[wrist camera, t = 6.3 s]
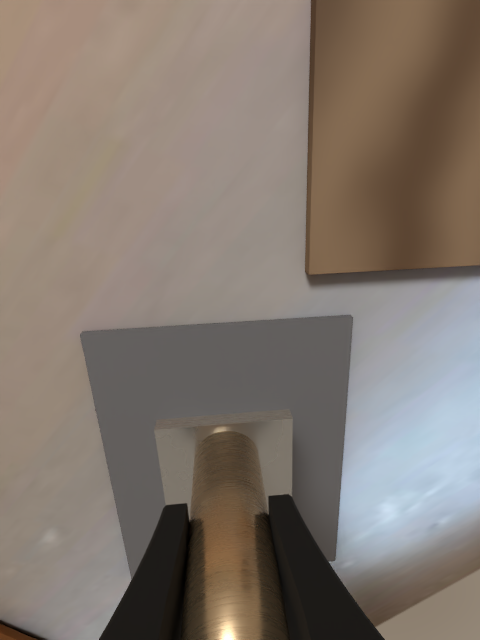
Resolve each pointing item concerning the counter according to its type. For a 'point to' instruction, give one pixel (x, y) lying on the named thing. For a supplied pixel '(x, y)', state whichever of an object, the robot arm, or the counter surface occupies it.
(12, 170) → the counter surface
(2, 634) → the food
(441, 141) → the board
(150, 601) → the robot arm
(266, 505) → the stamp with brass handle
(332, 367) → the mat
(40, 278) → the counter surface
